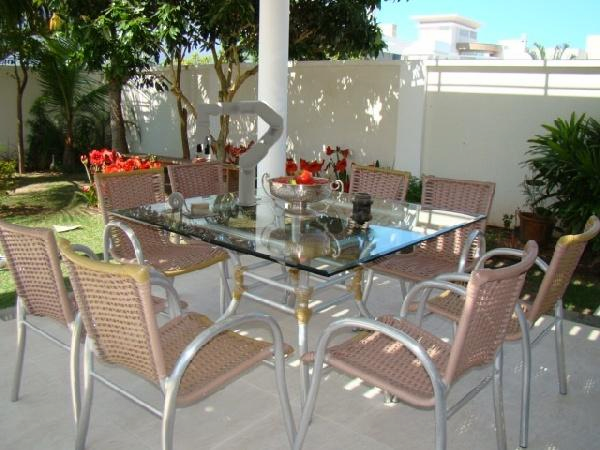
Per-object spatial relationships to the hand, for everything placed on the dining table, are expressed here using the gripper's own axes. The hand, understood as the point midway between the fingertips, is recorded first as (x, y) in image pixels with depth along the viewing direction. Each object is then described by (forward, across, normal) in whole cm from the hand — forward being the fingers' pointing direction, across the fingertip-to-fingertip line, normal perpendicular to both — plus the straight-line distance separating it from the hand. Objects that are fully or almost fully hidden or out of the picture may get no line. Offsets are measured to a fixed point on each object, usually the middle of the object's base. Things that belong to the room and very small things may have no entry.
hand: (203, 153), depth 330 cm
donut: (+31, +7, -21) cm, 38 cm away
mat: (+30, +26, -16) cm, 43 cm away
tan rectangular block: (+30, +26, -16) cm, 43 cm away
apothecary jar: (+31, +90, +45) cm, 105 cm away
